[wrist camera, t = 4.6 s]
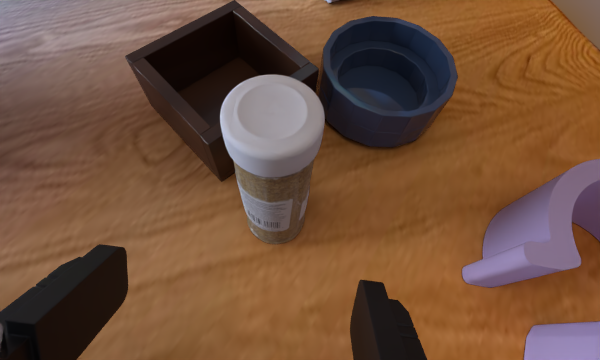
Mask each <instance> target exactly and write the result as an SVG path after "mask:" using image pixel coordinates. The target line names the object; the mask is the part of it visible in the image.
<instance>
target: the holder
mask: <svg viewBox="0 0 600 360" xmlns="http://www.w3.org/2000/svg"><path fill="white" fill-rule="evenodd" d="M125 58H126V59H127V61H128V63H129V65H130V67H131V69H132V71H133V72H134V74H135V76H136V78H137V80H138V82H139V83H140V85H141V87H142V89H143V91H144V93H145V94H146V96H147V98H148V100H149V102H150V104H151V105H152V107H153V108H154V109H155V110H156V111H157V112H158V113H159V114H160V115H161V116H162V117H163V119H164V120H165V121H166V122H167V123H168V124H169V125H170V126H171V127H172V128H173V129H174V131H175V132H176V133H177V134H178V135H179V136H180V137H181V138H182V139H183V140H184V141H185V143H186V144H187V145H188V146H189V147H190V148H191V149H192V150H193V151H194V152H195V153H196V155H197V156H198V157H199V158H200V159H201V160H202V161H203V162H204V163H205V164H206V165H207V167H208V168H209V169H210V170H211V171H212V172H213V173H214V174H215V175H216V176H217V177H218V179H219V180H220V181H221V182H222V181H224V180H225V179H226V178H228V177H229V176H230V175H232V174H233V173H234V172H235V166H234V162H233V159H232V158H231V157H230V155H229V153H228V151H227V149H226V146H225V142H224V138H223V135H222V130H221V125H220V111H221V107H222V104H223V102H224V100H225V98H226V96H227V95H228V94H229V93H230V92H231V90H232V89H233V88H235V87H236V86H237V85H238V84H240V83H242V82H243V81H245V80H247V79H250V78H253V77H256V76H261V75H283V76H288V77H291V78H294V79H296V80H298V81H300V82H302V83H304V84H305V85H307V86H308V87H309V88H311V89H312V90H313V91H314V92H315V93H316V86H317V79H318V73H319V69H318V68H317V67H316V66H315V65H313V64H312V63H311V62H310V61H309V60H307V59H306V58H305V57H304V56H302V55H301V54H300V53H299V52H298V51H296V50H295V49H294V48H293V47H291V46H290V45H289V44H288V43H287V42H285V41H284V40H283V39H282V38H280V37H279V36H278V35H277V34H276V33H274V32H273V31H272V30H271V29H269V28H268V27H267V26H266V25H265V24H263V23H262V22H261V21H260V20H258V19H257V18H256V17H255V16H254V15H252V14H251V13H250V12H249V11H247V10H246V9H245V8H244V7H243V6H241V5H240V4H239V3H238V2H236V1H235V0H234V1H232V2H230V3H228V4H226V5H224V6H222V7H220V8H218V9H216V10H214V11H212V12H210V13H208V14H206V15H204V16H202V17H200V18H198V19H197V20H195V21H193V22H191V23H189V24H187V25H185V26H183V27H181V28H179V29H177V30H175V31H173V32H171V33H169V34H167V35H165V36H163V37H161V38H160V39H158V40H156V41H154V42H152V43H150V44H148V45H146V46H144V47H142V48H140V49H138V50H136V51H134V52H132V53H130V54H128V55H126V56H125Z"/></svg>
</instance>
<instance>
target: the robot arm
mask: <svg viewBox="0 0 600 360" xmlns="http://www.w3.org/2000/svg"><path fill="white" fill-rule="evenodd" d="M127 291H128V273H127V254H126V250H125V248H123V247H117V246H110V245H102V244H100V245H97V246H96V247H95V248H93V249H92V250H91V251H90V252H88V253H87V254H86V255H85V256H83V257H78V258H76V259H74V260H71V261H69V262H67V263H65V264H63V265H61V266H59V267H58V268H57V269H56V270H54V271H53V272H52V273H50V274H49V275H48V277H47V278H44V279H43V280H41V281H40V282H39V283H37V284H36V286H35V287H32V288H31V289H29V290H28V291H27V292H26V293H24V294H23V295H22V296H20V297H19V298H18V299H16V300H15V301H14V302H13V303H11V304H10V305H9V306H7V307H6V308H5V309H3V310H2V311H1V312H0V360H77V358H78V357H79V356H80V355H81V353H82V352H83V351H84V350H85V349H86V347H87V346H88V345H89V344H90V343H91V341H92V340H93V339H94V338H95V336H96V335H97V334H98V333H99V332H100V330H101V329H102V328H103V327H104V326H105V324H106V323H107V322H108V321H109V320H110V318H111V317H112V316H113V315H114V313H115V312H116V311H117V310H118V309H119V307H120V306H121V305H122V303H123V302H124V300H125V297H126V295H127ZM413 326H414V325H413V322H412V320H411V317H410V315H409V312H408V311H407V310H406V309H405V308H404V306H403V305H402V304H401V303H400V302H399V301H398V300H393V299H388V296H387V292H386V289H385V286H384V284H383V283H382V282H375V281H367V280H360V281H359V284H358V288H357V293H356V297H355V302H354V307H353V311H352V316H351V324H350V336H351V343H352V351H353V358H354V360H427V358H426V356H425V353H424V350H423V348H422V345H421V343H420V340H419V339H418V335H417V333H416V330H415V328H414V327H413Z"/></svg>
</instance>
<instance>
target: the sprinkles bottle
mask: <svg viewBox="0 0 600 360" xmlns="http://www.w3.org/2000/svg"><path fill="white" fill-rule="evenodd" d="M324 123H325V115H324V109H323V106H322V104H321V102H320V100H319V98H318V96H317V95H316V94H315V92H314V91H313V90H312V89H311V88H309V87H308V86H307V85H305V84H304V83H302V82H300V81H298V80H296V79H294V78H291V77H288V76H283V75H261V76H256V77H253V78H250V79H247V80H245V81H243V82H242V83H240V84H238V85H237V86H236V87H235V88H233V89H232V90H231V92H230V93H229V94H228V95H227V96H226V98H225V100H224V102H223V104H222V107H221V111H220V125H221V130H222V135H223V138H224V142H225V146H226V149H227V151H228V153H229V155H230V157H231V158H232V159H233V162H234V166H235V174H236V178H237V182H238V186H239V190H240V194H241V198H242V201H243V205H244V208H245V211H246V214H247V222H248V226H249V228H250V230H251V232H252V233H253V234H254V235H255V236H256V237H257V238H258V239H260V240H262V241H263V242H266V243H270V244H281V243H285V242H287V241H290V240H292V239H293V238H295V237H296V236H297V234H298V233H299V232H300V230H301V228H302V226H303V223H304V219H305V215H304V212H305V210H306V206H307V201H308V195H309V187H310V186H309V184H310V178H311V173H312V168H313V161H314V158H315V156H316V155H317V153H318V151H319V149H320V145H321V141H322V136H323V130H324Z"/></svg>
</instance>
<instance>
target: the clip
mask: <svg viewBox="0 0 600 360" xmlns="http://www.w3.org/2000/svg"><path fill="white" fill-rule="evenodd" d="M572 222H574V223H576V224H577V225H579V226H581V227H582V228H584V229H585V230H587V231H588V232H590V233H591V234H592V235H593V236H594V237H596V238H597V239H598V240H599V241H600V159H596V160H590V161H587V162H583V163H581V164H579V165H576V166H574V167H573V168H571V169H569V170H568V171H566V172H564V173H563V174H561V175H559V176H557V177H556V178H554V179H552V180H551V181H549V182H547V183H545V184H544V185H542V186H540V187H539V188H537V189H535V190H533V191H532V192H530V193H528V194H527V195H525V196H523V197H521V198H520V199H518V200H516V201H515V202H513V203H511V204H509V205H508V206H506V207H504V208H503V209H502V210H500V211H499V212H498V213H497V214H496V215H495V216H494V218H493V219H492V220H491V222H490V224H489V226H488V228H487V230H486V233H485V237H484V242H483V259H482V260H479V261H477V262H474V263H472V264H469V265H467V266H464V267H463V269H462V276H463V279H464V281H465V282H466V283H468V284H472V285H478V286H483V287H489V288H492V287H497V286H502V285H506V284H510V283H514V282H518V281H522V280H527V279H531V278H535V277H539V276H543V275H547V274H551V273H555V272H560V271H564V270H568V269H572V268H576V267H579V266H580V265H581V258H580V255H579V253H578V250H577V248H576V245H575V241H574V237H573V232H572ZM524 360H600V321H598V322H581V323H563V324H545V325H534V326H533V327H532V328H531V330H530V332H529V334H528V335H527V338H526V346H525V354H524Z"/></svg>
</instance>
